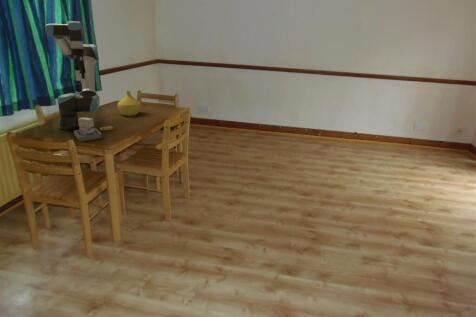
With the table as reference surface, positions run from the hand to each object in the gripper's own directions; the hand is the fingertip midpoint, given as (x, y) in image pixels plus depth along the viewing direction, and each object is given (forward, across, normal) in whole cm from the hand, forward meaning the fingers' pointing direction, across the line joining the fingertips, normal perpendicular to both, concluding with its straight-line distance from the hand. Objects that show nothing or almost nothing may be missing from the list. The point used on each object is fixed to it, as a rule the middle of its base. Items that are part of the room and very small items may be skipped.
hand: (81, 82), depth 237 cm
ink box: (+34, +7, -1) cm, 35 cm away
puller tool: (+35, -4, +14) cm, 38 cm away
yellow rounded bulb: (+35, -38, +43) cm, 67 cm away
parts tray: (+35, +7, -1) cm, 35 cm away
